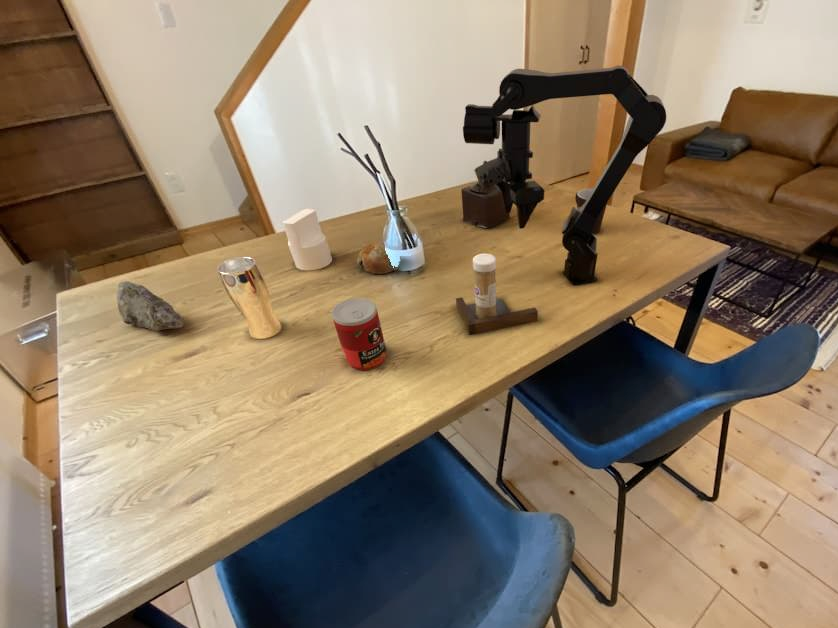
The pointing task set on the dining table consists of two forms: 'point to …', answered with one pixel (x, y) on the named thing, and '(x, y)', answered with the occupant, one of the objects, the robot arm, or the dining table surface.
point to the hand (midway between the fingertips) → (514, 220)
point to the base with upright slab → (307, 241)
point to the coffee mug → (580, 201)
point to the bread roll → (375, 259)
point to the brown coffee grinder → (483, 206)
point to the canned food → (360, 333)
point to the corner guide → (493, 317)
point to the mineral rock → (145, 308)
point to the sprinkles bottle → (485, 285)
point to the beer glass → (249, 295)
